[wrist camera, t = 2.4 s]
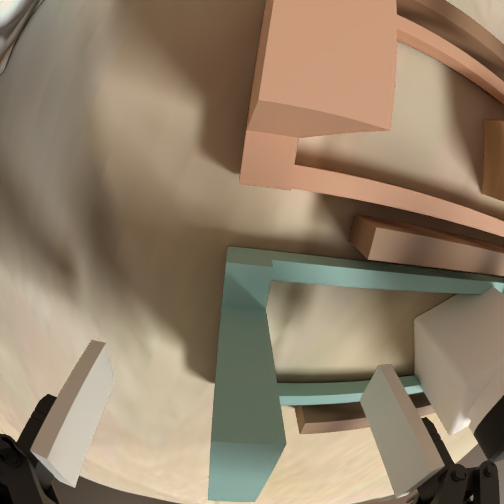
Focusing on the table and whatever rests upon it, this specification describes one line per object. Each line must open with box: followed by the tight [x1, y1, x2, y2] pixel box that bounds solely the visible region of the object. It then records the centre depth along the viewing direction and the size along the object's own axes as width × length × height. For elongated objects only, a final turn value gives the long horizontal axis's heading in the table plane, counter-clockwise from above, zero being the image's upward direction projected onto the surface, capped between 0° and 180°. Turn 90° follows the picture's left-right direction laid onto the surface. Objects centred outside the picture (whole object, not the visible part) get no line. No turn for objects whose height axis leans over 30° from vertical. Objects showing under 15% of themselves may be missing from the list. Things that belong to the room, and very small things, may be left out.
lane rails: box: [295, 0, 504, 434], centre depth 14 cm, size 19×28×2 cm
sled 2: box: [208, 246, 504, 502], centre depth 12 cm, size 23×10×9 cm, turn 82°
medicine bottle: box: [414, 287, 504, 462], centre depth 12 cm, size 7×7×12 cm
